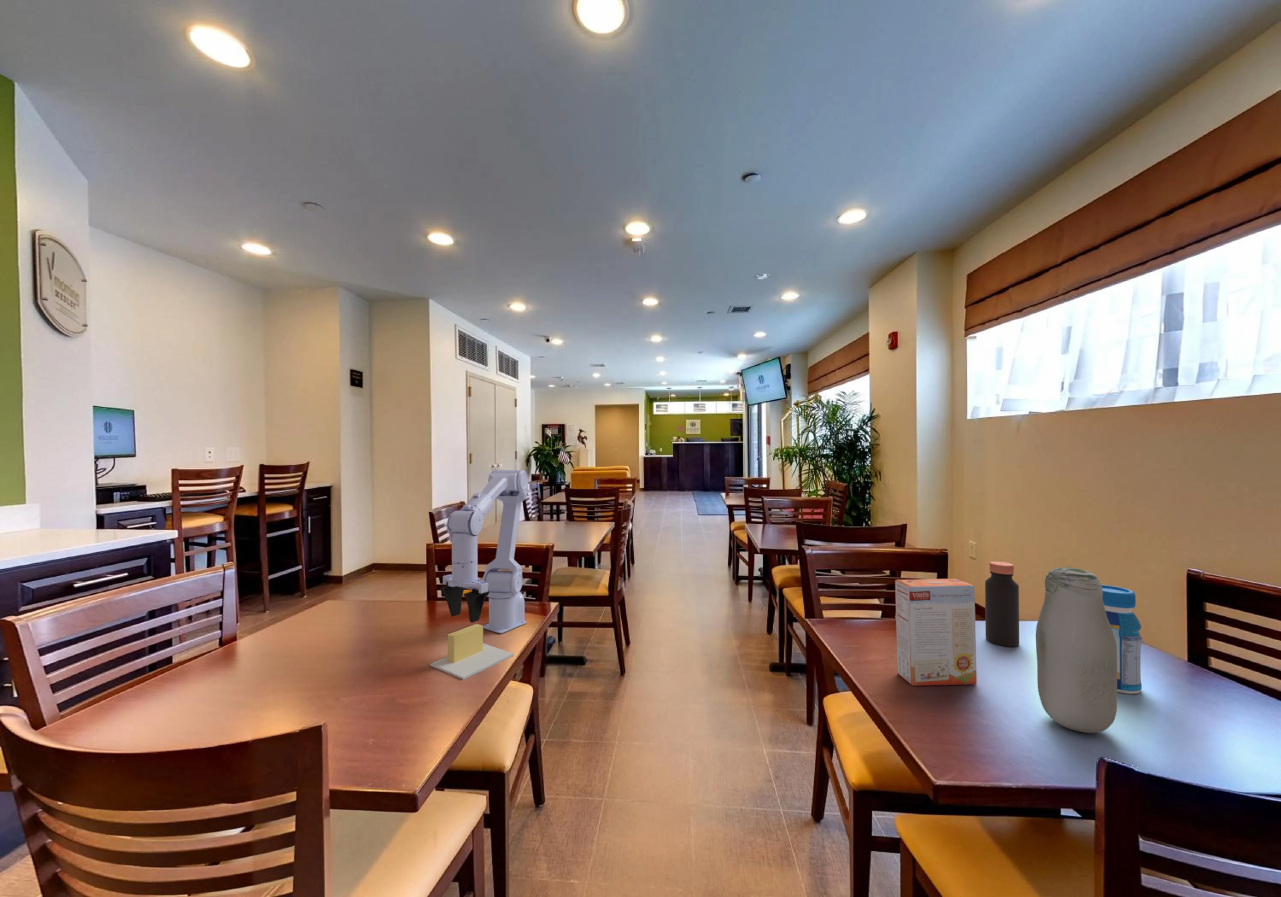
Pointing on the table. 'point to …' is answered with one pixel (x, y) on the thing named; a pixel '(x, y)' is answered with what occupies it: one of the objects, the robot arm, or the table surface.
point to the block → (465, 643)
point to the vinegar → (1002, 605)
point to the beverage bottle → (1124, 636)
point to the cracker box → (936, 631)
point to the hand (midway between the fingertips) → (464, 618)
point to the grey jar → (1076, 652)
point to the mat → (473, 662)
